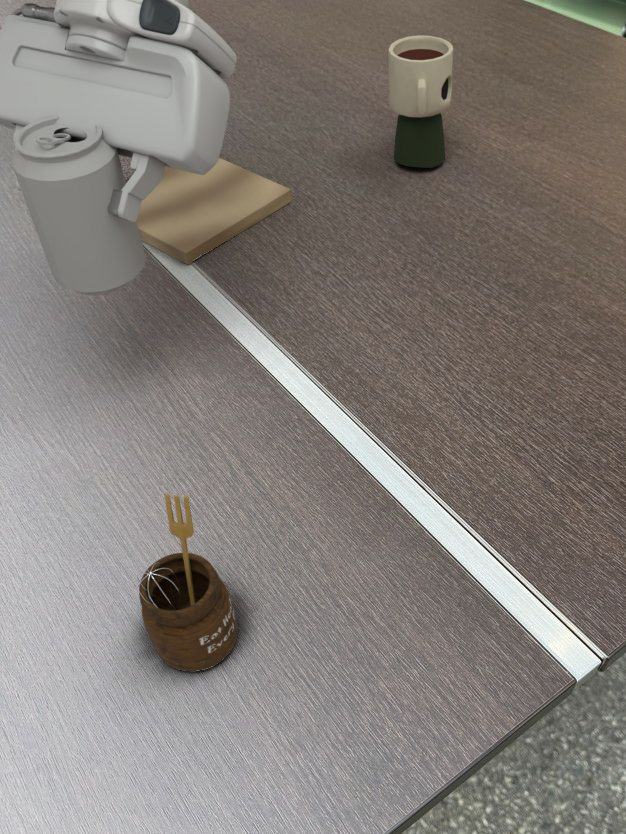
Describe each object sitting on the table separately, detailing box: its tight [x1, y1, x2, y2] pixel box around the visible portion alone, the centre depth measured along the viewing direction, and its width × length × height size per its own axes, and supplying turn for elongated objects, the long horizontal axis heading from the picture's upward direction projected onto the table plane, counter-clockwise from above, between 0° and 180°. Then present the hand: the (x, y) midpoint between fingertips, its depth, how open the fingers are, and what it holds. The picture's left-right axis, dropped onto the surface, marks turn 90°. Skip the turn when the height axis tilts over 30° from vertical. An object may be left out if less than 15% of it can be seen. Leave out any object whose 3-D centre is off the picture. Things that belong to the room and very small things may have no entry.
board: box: [136, 157, 293, 266], centre depth 96 cm, size 16×16×2 cm
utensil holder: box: [136, 493, 239, 671], centre depth 55 cm, size 6×6×12 cm
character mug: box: [387, 35, 454, 169], centre depth 97 cm, size 11×7×13 cm, turn 0°
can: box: [11, 116, 146, 297], centre depth 65 cm, size 8×8×12 cm
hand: (75, 206), depth 64 cm, fingers closed on can, 7 cm apart
